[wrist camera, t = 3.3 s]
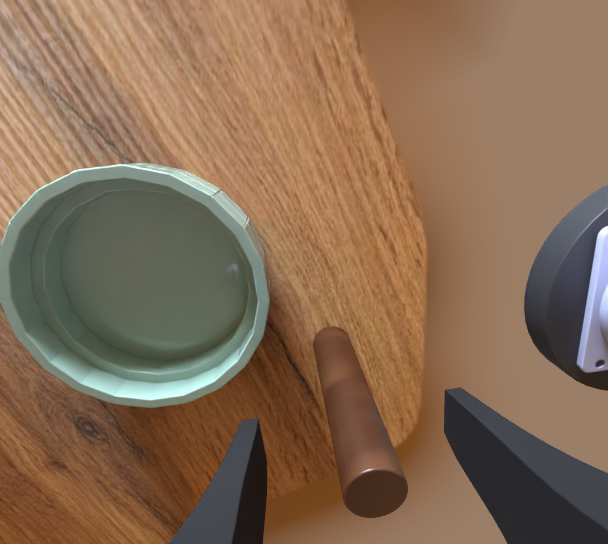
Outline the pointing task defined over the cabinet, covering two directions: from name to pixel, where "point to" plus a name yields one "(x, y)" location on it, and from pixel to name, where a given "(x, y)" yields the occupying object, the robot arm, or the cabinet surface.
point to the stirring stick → (357, 430)
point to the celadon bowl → (135, 284)
